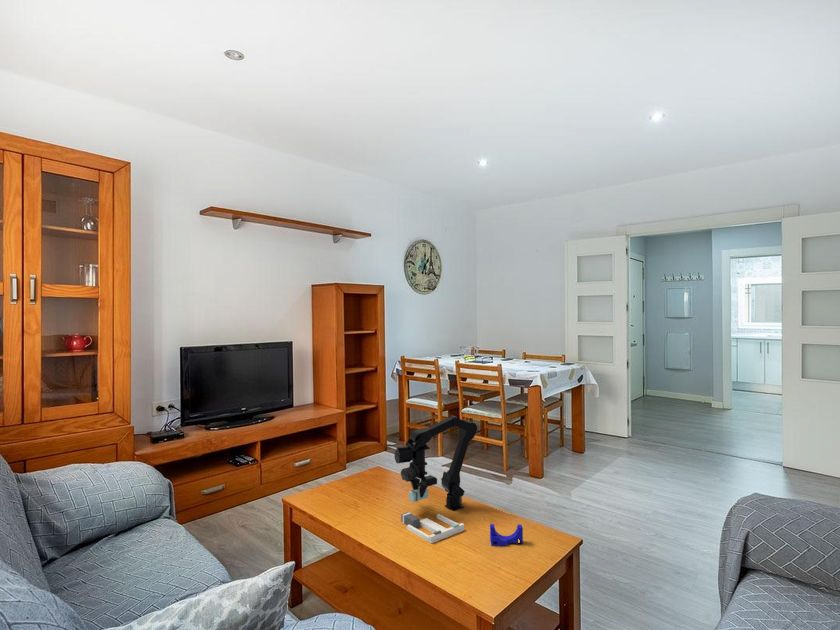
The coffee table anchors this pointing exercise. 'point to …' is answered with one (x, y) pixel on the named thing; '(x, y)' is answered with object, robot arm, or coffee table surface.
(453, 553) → the coffee table surface
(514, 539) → the blue cradle block
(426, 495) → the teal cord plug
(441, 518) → the slot rack
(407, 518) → the dark grey block
